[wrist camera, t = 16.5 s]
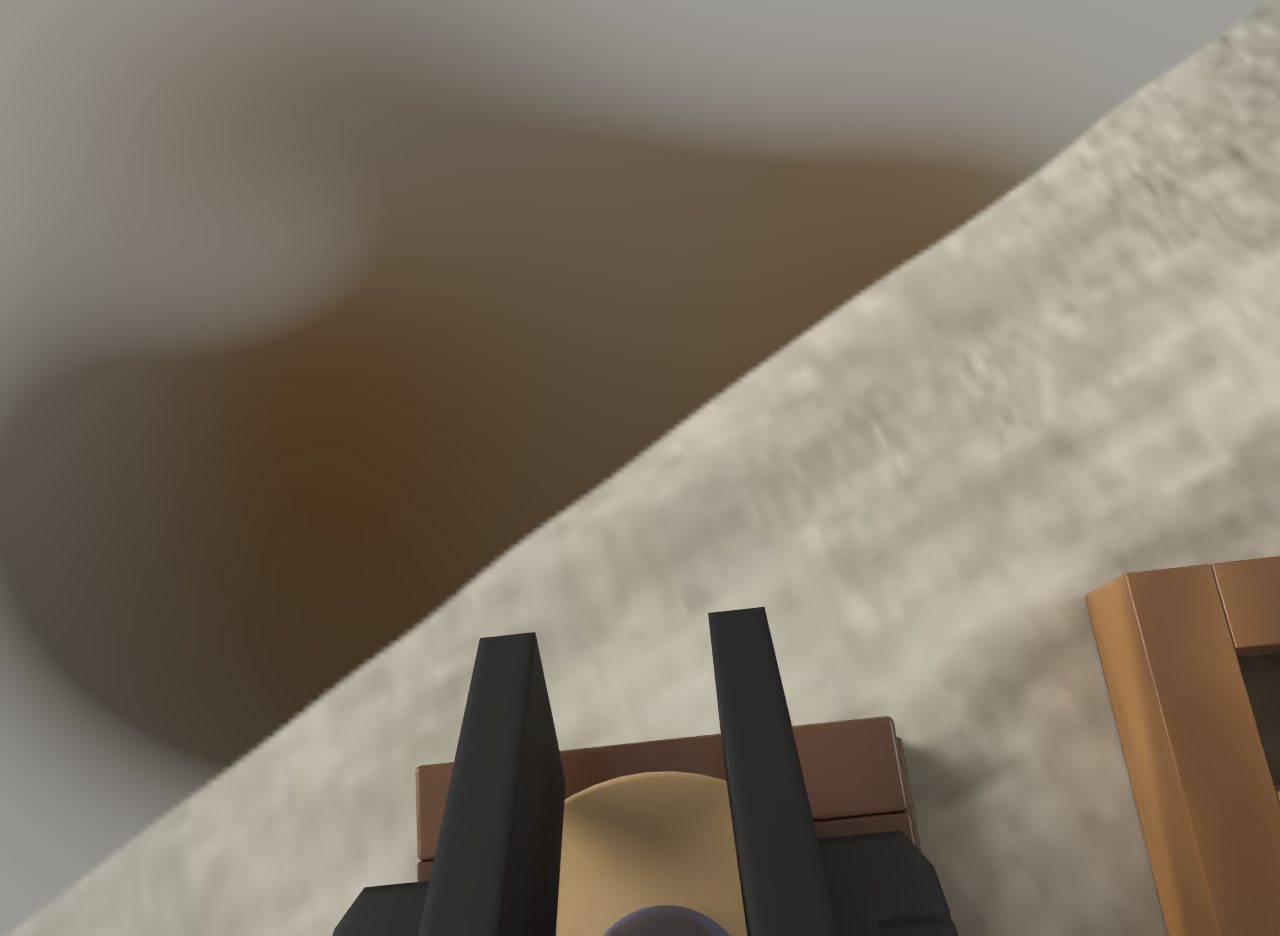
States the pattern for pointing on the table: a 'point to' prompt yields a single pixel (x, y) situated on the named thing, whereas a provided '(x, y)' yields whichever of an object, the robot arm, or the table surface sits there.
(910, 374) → the table surface
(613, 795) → the peg
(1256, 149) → the table surface
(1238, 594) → the peg holder
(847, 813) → the stand
